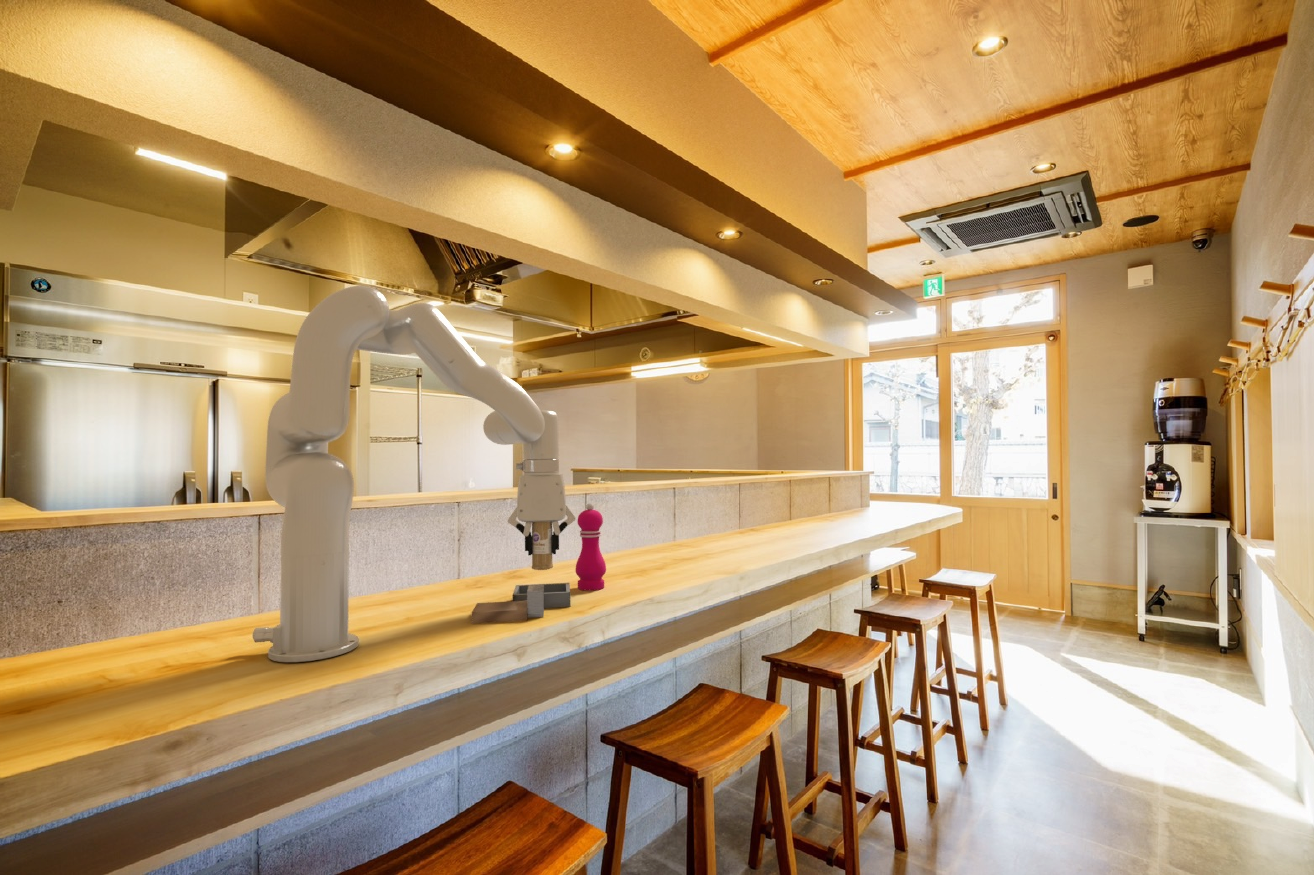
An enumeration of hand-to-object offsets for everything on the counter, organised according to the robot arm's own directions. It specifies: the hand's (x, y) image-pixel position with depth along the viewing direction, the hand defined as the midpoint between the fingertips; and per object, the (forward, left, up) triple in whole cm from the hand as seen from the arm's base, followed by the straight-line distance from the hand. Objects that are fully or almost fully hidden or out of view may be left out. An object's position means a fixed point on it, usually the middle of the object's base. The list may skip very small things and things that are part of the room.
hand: (542, 553), depth 130 cm
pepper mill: (+11, +13, -11) cm, 20 cm away
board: (-8, -11, -11) cm, 17 cm away
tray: (0, 0, -10) cm, 10 cm away
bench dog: (-1, -10, -10) cm, 14 cm away
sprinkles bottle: (0, 0, -4) cm, 4 cm away
